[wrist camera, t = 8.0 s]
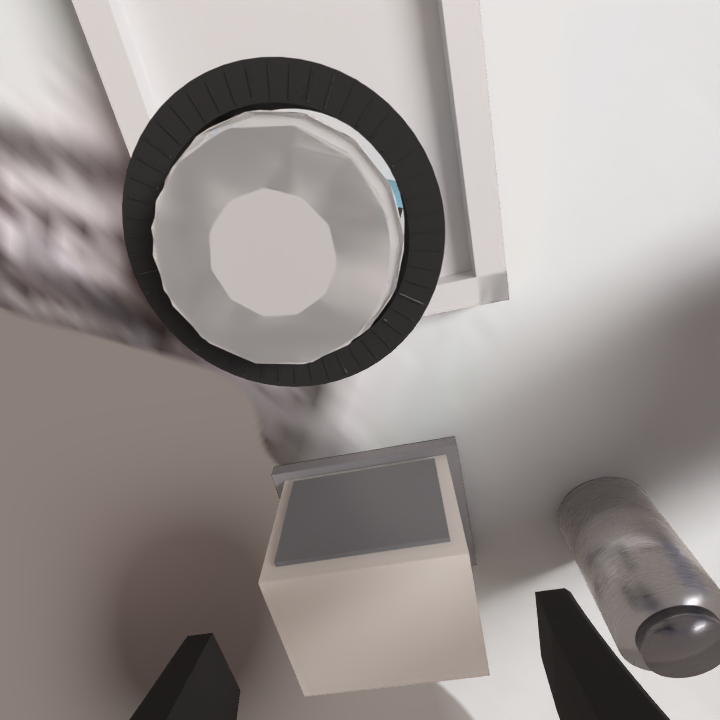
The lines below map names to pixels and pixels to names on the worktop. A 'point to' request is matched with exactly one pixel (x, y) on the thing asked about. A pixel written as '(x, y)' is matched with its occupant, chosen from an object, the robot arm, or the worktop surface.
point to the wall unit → (375, 570)
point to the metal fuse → (643, 578)
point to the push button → (282, 222)
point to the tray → (353, 57)
